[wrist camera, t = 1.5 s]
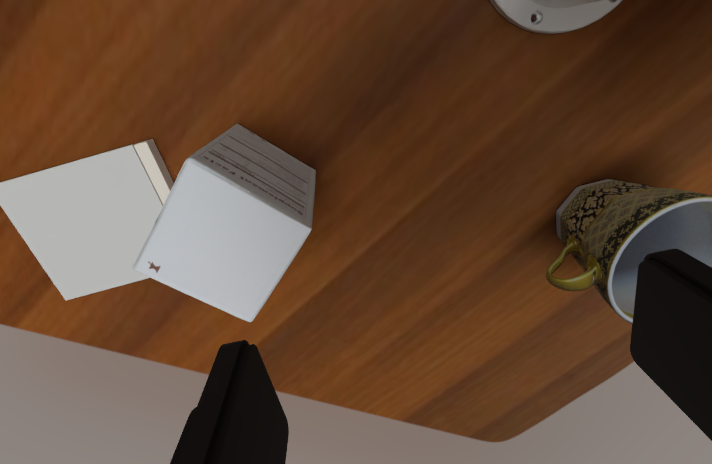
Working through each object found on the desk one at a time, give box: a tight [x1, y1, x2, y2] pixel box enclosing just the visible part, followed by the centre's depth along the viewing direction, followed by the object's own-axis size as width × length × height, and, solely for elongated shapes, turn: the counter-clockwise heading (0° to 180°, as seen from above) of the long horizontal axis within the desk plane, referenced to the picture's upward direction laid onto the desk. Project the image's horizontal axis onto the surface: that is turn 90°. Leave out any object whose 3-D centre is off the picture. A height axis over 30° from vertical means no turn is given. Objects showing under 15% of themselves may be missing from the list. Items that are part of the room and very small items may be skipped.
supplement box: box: [133, 124, 316, 322], centre depth 27 cm, size 7×7×13 cm
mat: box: [0, 144, 163, 300], centre depth 33 cm, size 12×11×1 cm
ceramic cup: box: [546, 179, 712, 324], centre depth 31 cm, size 13×10×10 cm
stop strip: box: [134, 139, 174, 205], centre depth 32 cm, size 1×11×1 cm, turn 15°
